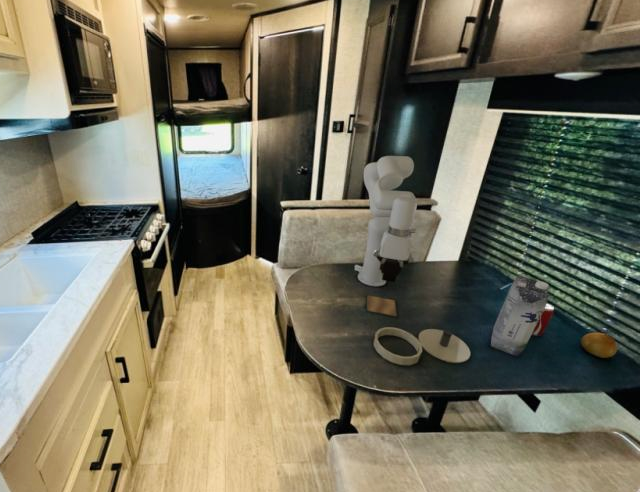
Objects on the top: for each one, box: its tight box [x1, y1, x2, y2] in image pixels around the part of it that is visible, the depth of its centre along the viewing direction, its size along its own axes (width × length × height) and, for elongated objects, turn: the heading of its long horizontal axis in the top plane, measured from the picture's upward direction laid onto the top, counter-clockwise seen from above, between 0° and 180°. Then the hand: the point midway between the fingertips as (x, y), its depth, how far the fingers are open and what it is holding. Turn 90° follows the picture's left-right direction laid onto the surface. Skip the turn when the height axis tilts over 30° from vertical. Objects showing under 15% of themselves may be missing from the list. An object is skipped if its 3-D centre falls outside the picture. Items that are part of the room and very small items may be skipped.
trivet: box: [366, 294, 397, 317], centre depth 130 cm, size 11×11×1 cm
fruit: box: [581, 332, 618, 359], centre depth 105 cm, size 8×8×8 cm
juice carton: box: [490, 274, 550, 357], centre depth 104 cm, size 9×10×27 cm
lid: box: [417, 328, 471, 364], centre depth 108 cm, size 16×16×7 cm
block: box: [382, 258, 399, 283], centre depth 122 cm, size 5×5×8 cm
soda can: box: [531, 302, 555, 337], centre depth 113 cm, size 5×5×12 cm
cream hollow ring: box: [373, 326, 423, 366], centre depth 108 cm, size 15×15×4 cm
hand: (389, 272), depth 122 cm, fingers closed on block, 4 cm apart
